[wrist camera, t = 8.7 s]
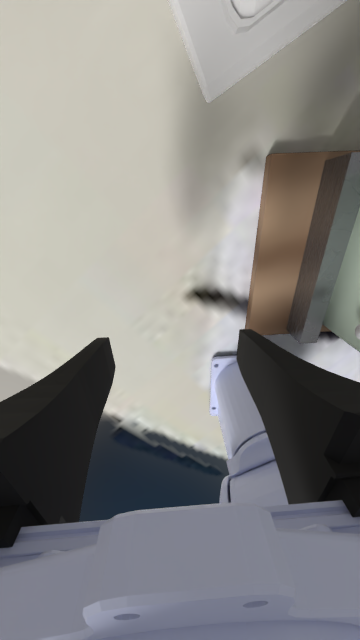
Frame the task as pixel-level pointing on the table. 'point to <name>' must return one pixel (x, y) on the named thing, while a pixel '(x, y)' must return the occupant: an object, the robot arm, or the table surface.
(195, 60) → the light switch
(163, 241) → the table surface
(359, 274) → the pale green foam block
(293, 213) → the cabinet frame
